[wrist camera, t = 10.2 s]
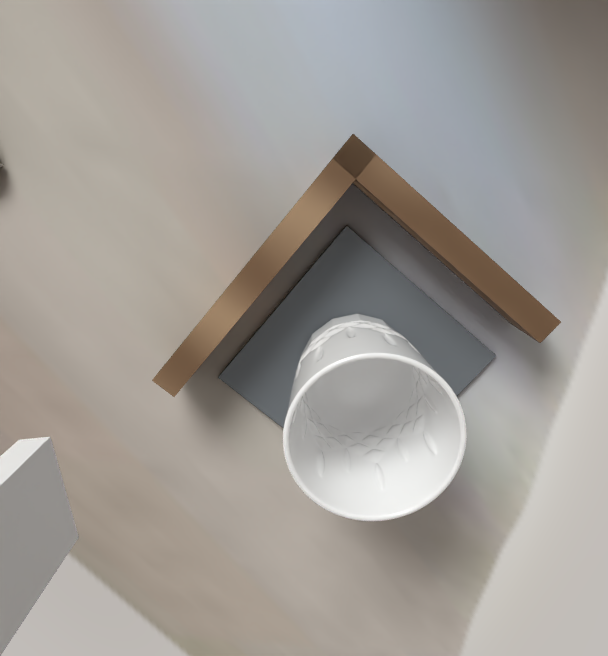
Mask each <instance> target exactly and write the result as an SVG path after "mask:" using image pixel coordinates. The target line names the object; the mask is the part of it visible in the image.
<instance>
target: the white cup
mask: <svg viewBox="0 0 608 656" xmlns="http://www.w3.org/2000/svg"><path fill="white" fill-rule="evenodd" d="M466 439H467V430H466V422H465V417H464V413H463V410H462V407H461V405H460V402H459V400H458V398H457V396H456V395H455V393H454V392H453V390H452V389H451V387H450V386H449V385H448V384H447V382H446V381H445V380H444V379H443V378H442V377H441V376H440V375H439V374H438V373H437V372H436V370H435V369H434V368H433V367H432V366H431V365H430V364H429V362H428V361H427V360H426V359H425V358H424V357H423V356H422V354H421V353H420V352H419V351H418V350H417V349H416V348H415V347H414V346H413V345H412V344H411V343H410V342H409V341H408V340H407V339H406V338H405V337H403V336H402V335H401V334H399V333H398V332H397V331H396V330H394V329H393V328H392V327H391V326H389V325H388V324H387V323H386V322H385V321H383V320H382V319H378V318H374V317H370V316H366V315H361V314H353V315H348V316H343V317H338V318H333V319H331V320H330V321H329V322H327V323H326V324H325V325H323V326H322V327H320V328H319V329H318V330H316V331H315V332H314V333H312V335H311V337H310V339H309V341H308V343H307V345H306V346H305V348H304V350H303V352H302V354H301V357H300V361H299V364H298V367H297V370H296V374H295V377H294V381H293V385H292V389H291V394H290V399H289V405H288V410H287V414H286V419H285V423H284V429H283V450H284V455H285V460H286V463H287V466H288V468H289V471H290V473H291V475H292V477H293V479H294V480H295V482H296V483H297V485H298V486H299V487H300V489H301V490H302V491H303V492H304V493H305V494H306V495H307V496H308V497H309V498H310V499H311V500H312V501H314V502H315V503H316V504H318V505H319V506H321V507H322V508H324V509H326V510H327V511H329V512H331V513H334V514H336V515H339V516H342V517H345V518H349V519H353V520H359V521H385V520H391V519H396V518H400V517H403V516H406V515H409V514H411V513H413V512H415V511H418V510H419V509H421V508H423V507H425V506H426V505H428V504H429V503H431V502H432V501H433V500H435V499H436V498H437V497H438V496H439V495H440V494H441V493H442V492H443V491H444V490H445V489H446V488H447V487H448V485H449V484H450V483H451V481H452V480H453V478H454V477H455V475H456V473H457V472H458V470H459V467H460V465H461V463H462V460H463V457H464V453H465V448H466Z"/></svg>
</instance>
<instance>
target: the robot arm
mask: <svg viewBox="0 0 608 656" xmlns="http://www.w3.org/2000/svg"><path fill="white" fill-rule="evenodd" d="M78 537H79V536H78V533H77V529H76V526H75V522H74V519H73V515H72V511H71V508H70V504H69V501H68V497H67V494H66V490H65V487H64V483H63V479H62V476H61V472H60V469H59V465H58V462H57V458H56V455H55V451H54V447H53V444H52V440H51V437H42V438H33V439H23V440H18V441H17V442H16V443H15V444H14V445H13V446H11V447H10V448H9V449H8V450H7V451H6V452H5V453H4V454H2V455H1V456H0V655H1V654H2V653H3V651H4V650H5V648H6V647H7V645H8V643H9V642H10V641H11V639H12V637H13V636H14V634H15V633H16V631H17V630H18V628H19V627H20V625H21V624H22V622H23V621H24V619H25V618H26V616H27V615H28V613H29V612H30V610H31V609H32V607H33V606H34V604H35V603H36V601H37V599H38V598H39V597H40V595H41V593H42V592H43V591H44V589H45V587H46V586H47V584H48V583H49V581H50V580H51V578H52V577H53V575H54V574H55V572H56V571H57V569H58V568H59V566H60V565H61V563H62V562H63V560H64V558H65V557H66V556H67V554H68V553H69V551H70V550H71V548H72V547H73V545H74V544H75V542H76V541H77V539H78Z"/></svg>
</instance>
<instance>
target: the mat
mask: <svg viewBox="0 0 608 656" xmlns="http://www.w3.org/2000/svg"><path fill="white" fill-rule="evenodd" d="M353 314H361V315H366V316H370V317H374V318H378V319H382V320H383V321H385V322H386V323H387V324H388V325H389V326H391V327H392V328H393V329H394V330H396V331H397V332H398V333H399V334H401V335H402V336H403V337H405V338H406V339H407V340H408V341H409V342H410V343H411V344H412V345H413V346H414V347H415V348H416V349H417V350H418V351H419V352H420V353H421V354H422V356H423V357H424V358H425V359H426V360H427V361H428V362H429V364H430V365H431V366H432V367H433V368H434V369H435V370H436V372H437V373H438V374H439V375H440V376H441V377H442V378H443V379H444V380H445V381H446V382H447V384H448V385H449V386H450V387H451V389H452V390H453V392H454V393H455V395H456V396H457V395H458V394H459V393H460V392H461V391H462V390H463V389H464V388H465V387H466V386H467V385H468V384H469V383H470V382H471V381H472V380H473V379H474V378H475V377H476V376H477V375H478V374H479V373H480V372H481V371H482V370H483V369H484V368H485V367H486V366H487V365H488V364H489V363H490V362H491V361H492V359H493V358H494V357H495V356H496V355H495V354H494V353H493V352H492V351H490V350H489V349H488V348H487V347H486V346H485V345H484V344H482V343H481V342H480V341H479V340H478V339H477V338H475V337H474V336H473V335H472V334H471V333H470V332H469V331H467V330H466V329H465V328H464V327H463V326H462V325H460V324H459V323H458V322H457V321H456V320H455V319H454V318H452V317H451V316H450V315H449V314H448V313H447V312H446V311H444V310H443V309H442V308H441V307H440V306H439V305H437V304H436V303H435V302H434V301H433V300H432V299H431V298H429V297H428V296H427V295H426V294H425V293H424V292H422V291H421V290H420V289H419V288H418V287H417V286H416V285H414V284H413V283H412V282H411V281H410V280H409V279H407V278H406V277H405V276H404V275H403V274H402V273H401V272H399V271H398V270H397V269H396V268H395V267H394V266H393V265H391V264H390V263H389V262H388V261H387V260H386V259H384V258H383V257H382V256H381V255H380V254H379V253H378V252H376V251H375V250H374V249H373V248H372V247H371V246H369V245H368V244H367V243H366V242H365V241H364V240H363V239H361V238H360V237H359V236H358V235H357V234H356V233H355V232H353V231H352V230H351V229H350V228H349V227H348V226H346V227H345V228H344V229H343V230H342V231H341V233H340V234H339V235H338V236H337V237H336V238H335V240H334V241H333V242H332V243H331V244H330V246H329V247H328V248H327V249H326V250H325V251H324V253H323V254H322V255H321V256H320V257H319V259H318V260H317V261H316V262H315V263H314V264H313V266H312V267H311V268H310V269H309V270H308V272H307V273H306V274H305V275H304V276H303V277H302V279H301V280H300V281H299V282H298V283H297V285H296V286H295V287H294V288H293V289H292V290H291V292H290V293H289V294H288V295H287V296H286V298H285V299H284V300H283V301H282V302H281V303H280V305H279V306H278V307H277V308H276V309H275V310H274V312H273V313H272V314H271V315H270V316H269V318H268V319H267V320H266V321H265V322H264V323H263V325H262V326H261V327H260V328H259V329H258V331H257V332H256V333H255V334H254V335H253V336H252V338H251V339H250V340H249V341H248V342H247V344H246V345H245V346H244V347H243V348H242V349H241V351H240V352H239V353H238V354H237V355H236V357H235V358H234V359H233V360H232V361H231V362H230V364H229V365H228V366H227V367H226V368H225V370H224V371H223V372H222V373H221V374H220V375H219V377H218V378H219V379H221V380H222V381H223V382H224V383H226V384H227V385H228V386H230V387H231V388H232V389H234V390H235V391H236V392H237V393H239V394H240V395H241V396H243V397H244V398H245V399H247V400H248V401H249V402H250V403H252V404H253V405H254V406H256V407H257V408H258V409H259V410H261V411H262V412H263V413H265V414H266V415H267V416H269V417H270V418H271V419H272V420H274V421H275V422H276V423H278V424H279V425H280V426H281V427H283V428H284V423H285V419H286V414H287V410H288V405H289V399H290V394H291V389H292V385H293V381H294V377H295V374H296V370H297V367H298V364H299V361H300V357H301V354H302V352H303V350H304V348H305V346H306V345H307V343H308V341H309V339H310V337H311V335H312V333H314V332H315V331H316V330H318V329H319V328H320V327H322V326H323V325H325V324H326V323H327V322H329V321H330V320H331V319H333V318H338V317H343V316H348V315H353Z"/></svg>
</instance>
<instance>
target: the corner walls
mask: <svg viewBox="0 0 608 656" xmlns="http://www.w3.org/2000/svg"><path fill="white" fill-rule="evenodd" d="M352 183H353V184H354V185H355V186H356V187H358V188H359V189H360V190H361V191H362V192H363V193H364V194H366V195H367V196H368V197H369V198H370V199H371V200H372V201H373V202H375V203H376V204H377V205H378V206H379V207H380V208H381V209H382V210H384V211H385V212H386V213H387V214H388V215H389V216H390V217H391V218H393V219H394V220H395V221H396V222H397V223H398V224H399V225H400V226H402V227H403V228H404V229H405V230H406V231H407V232H408V233H410V234H411V235H412V236H413V237H414V238H415V239H416V240H417V241H419V242H420V243H421V244H422V245H423V246H424V247H425V248H426V249H428V250H429V251H430V252H431V253H432V254H433V255H434V256H435V257H437V258H438V259H439V260H440V261H441V262H442V263H443V264H444V265H446V266H447V267H448V268H449V269H450V270H451V271H452V272H454V273H455V274H456V275H457V276H458V277H459V278H460V279H461V280H463V281H464V282H465V283H466V284H467V285H468V286H469V287H470V288H472V289H473V290H474V291H475V292H476V293H477V294H478V295H479V296H481V297H482V298H483V299H484V300H485V301H486V302H487V303H488V304H490V305H491V306H492V307H493V308H494V309H495V310H496V311H498V312H499V313H500V314H501V315H502V316H503V317H504V318H505V319H507V320H508V321H509V322H510V323H511V324H512V325H514V326H515V327H517V328H518V329H520V330H521V331H523V332H524V333H526V334H527V335H529V336H530V337H532V338H533V339H535V340H536V341H538V342H539V343H541V342H542V341H543V340H544V339H545V338H546V337H547V336H548V335H549V334H550V333H551V332H552V331H553V330H554V329H555V328H556V327H557V326H558V325H559V324H560V323H561V321H559V320H558V319H557V318H556V317H555V316H554V315H553V314H552V313H551V312H549V311H548V310H547V309H546V308H545V307H544V306H543V305H542V304H541V303H540V302H538V301H537V300H536V299H535V298H534V297H533V296H532V295H531V294H530V293H529V292H527V291H526V290H525V289H524V288H523V287H522V286H521V285H520V284H519V283H517V282H516V281H515V280H514V279H513V278H512V277H511V276H510V275H509V274H508V273H506V272H505V271H504V270H503V269H502V268H501V267H500V266H499V265H498V264H496V263H495V262H494V261H493V260H492V259H491V258H490V257H489V256H488V255H487V254H485V253H484V252H483V251H482V250H481V249H480V248H479V247H478V246H477V245H475V244H474V243H473V242H472V241H471V240H470V239H469V238H468V237H467V236H466V235H464V234H463V233H462V232H461V231H460V230H459V229H458V228H457V227H456V226H455V225H453V224H452V223H451V222H450V221H449V220H448V219H447V218H446V217H445V216H443V215H442V214H441V213H440V212H439V211H438V210H437V209H436V208H435V207H434V206H432V205H431V204H430V203H429V202H428V201H427V200H426V199H425V198H424V197H422V196H421V195H420V194H419V193H418V192H417V191H416V190H415V189H414V188H413V187H411V186H410V185H409V184H408V183H407V182H406V181H405V180H404V179H403V178H401V177H400V176H399V175H398V174H397V173H396V172H395V171H394V170H393V169H392V168H390V167H389V166H388V165H387V164H386V163H385V162H384V161H383V160H382V159H380V158H379V157H378V156H377V155H376V154H375V153H374V152H373V151H372V150H371V149H369V148H368V147H367V146H366V145H365V144H364V143H363V142H362V141H361V140H360V139H358V138H357V137H356V136H355V135H354V134H352V135H351V137H350V138H349V139H348V140H347V142H346V143H345V144H344V145H343V146H342V148H341V149H340V150H339V151H338V153H337V154H336V155H335V156H334V158H333V159H332V160H331V161H330V162H329V164H328V165H327V166H326V167H325V169H324V170H323V171H322V172H321V173H320V175H319V176H318V177H317V178H316V180H315V181H314V182H313V183H312V185H311V186H310V187H309V188H308V189H307V191H306V192H305V193H304V194H303V196H302V197H301V198H300V199H299V200H298V202H297V203H296V204H295V205H294V207H293V208H292V209H291V210H290V212H289V213H288V214H287V215H286V216H285V218H284V219H283V220H282V221H281V223H280V224H279V225H278V226H277V227H276V229H275V230H274V231H273V232H272V234H271V235H270V236H269V237H268V239H267V240H266V241H265V242H264V243H263V245H262V246H261V247H260V248H259V250H258V251H257V252H256V253H255V254H254V256H253V257H252V258H251V259H250V261H249V262H248V263H247V264H246V266H245V267H244V268H243V269H242V270H241V272H240V273H239V274H238V275H237V277H236V278H235V279H234V280H233V281H232V283H231V284H230V285H229V286H228V288H227V289H226V290H225V291H224V293H223V294H222V295H221V296H220V297H219V299H218V300H217V301H216V302H215V304H214V305H213V306H212V307H211V309H210V310H209V311H208V312H207V313H206V315H205V316H204V317H203V318H202V320H201V321H200V322H199V323H198V324H197V326H196V327H195V328H194V329H193V331H192V332H191V333H190V334H189V336H188V337H187V338H186V339H185V340H184V342H183V343H182V344H181V345H180V347H179V348H178V349H177V350H176V351H175V353H174V354H173V355H172V356H171V358H170V359H169V360H168V361H167V363H166V364H165V365H164V366H163V367H162V369H161V370H160V371H159V372H158V374H157V375H156V376H155V377H154V378H153V380H152V381H154V382H155V383H156V384H158V385H159V386H160V387H161V388H163V389H164V390H165V391H167V392H168V393H169V394H171V395H172V396H173V397H175V395H176V394H177V393H178V392H179V391H180V389H181V388H182V387H183V386H184V385H185V383H186V382H187V381H188V380H189V379H190V377H191V376H192V375H193V374H194V373H195V371H196V370H197V369H198V368H199V367H200V365H201V364H202V363H203V362H204V361H205V359H206V358H207V357H208V356H209V355H210V353H211V352H212V351H213V350H214V349H215V347H216V346H217V345H218V344H219V343H220V341H221V340H222V339H223V338H224V337H225V335H226V334H227V333H228V332H229V331H230V329H231V328H232V327H233V326H234V325H235V323H236V322H237V321H238V320H239V319H240V317H241V316H242V315H243V314H244V313H245V311H246V310H247V309H248V308H249V307H250V305H251V304H252V303H253V302H254V301H255V299H256V298H257V297H258V296H259V295H260V293H261V292H262V291H263V290H264V289H265V287H266V286H267V285H268V284H269V283H270V281H271V280H272V279H273V278H274V277H275V275H276V274H277V273H278V272H279V271H280V269H281V268H282V267H283V266H284V265H285V263H286V262H287V261H288V260H289V259H290V257H291V256H292V255H293V254H294V253H295V251H296V250H297V249H298V248H299V247H300V245H301V244H302V243H303V242H304V241H305V239H306V238H307V237H308V236H309V235H310V233H311V232H312V231H313V230H314V229H315V227H316V226H317V225H318V224H319V223H320V221H321V220H322V219H323V218H324V217H325V215H326V214H327V213H328V212H329V211H330V209H331V208H332V207H333V206H334V205H335V203H336V202H337V201H338V200H339V199H340V197H341V196H342V195H343V194H344V193H345V191H346V190H347V189H348V188H349V187H350V185H351V184H352Z"/></svg>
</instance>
